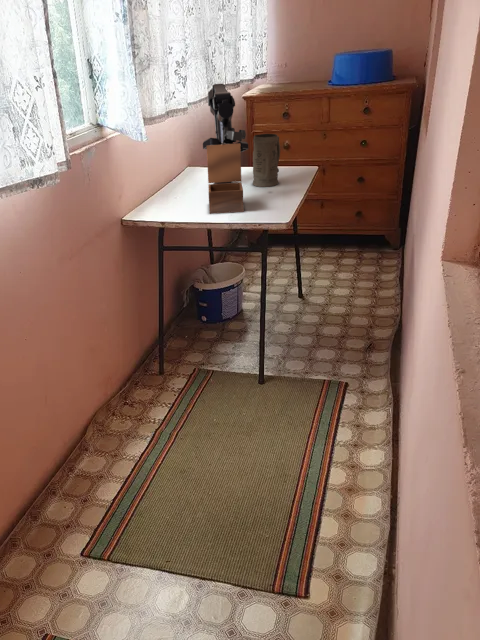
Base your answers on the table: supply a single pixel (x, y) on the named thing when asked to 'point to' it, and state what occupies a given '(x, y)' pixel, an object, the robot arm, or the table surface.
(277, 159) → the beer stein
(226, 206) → the walnut box
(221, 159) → the lid
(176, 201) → the table surface
